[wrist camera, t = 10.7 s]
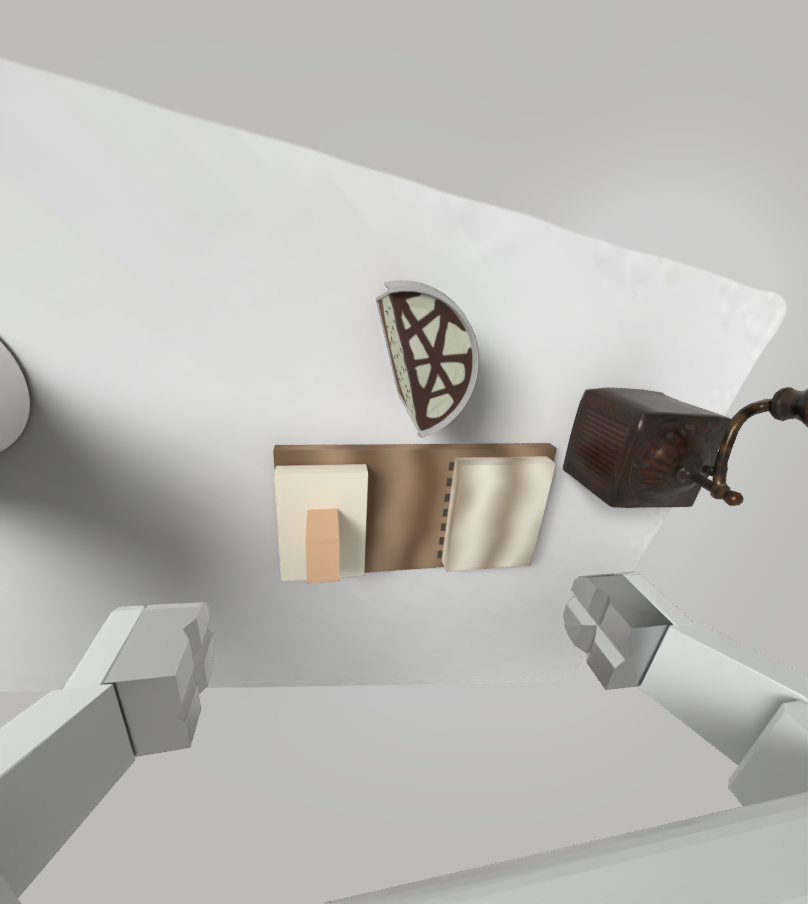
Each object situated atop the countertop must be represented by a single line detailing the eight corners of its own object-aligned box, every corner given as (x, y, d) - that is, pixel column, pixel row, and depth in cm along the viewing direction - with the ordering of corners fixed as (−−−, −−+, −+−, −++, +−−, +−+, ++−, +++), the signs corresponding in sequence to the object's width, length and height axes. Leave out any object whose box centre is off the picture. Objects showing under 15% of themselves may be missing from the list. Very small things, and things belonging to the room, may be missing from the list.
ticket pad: (283, 569, 46) (280, 591, 43) (275, 445, 40) (271, 459, 37) (523, 553, 52) (536, 570, 49) (549, 443, 46) (566, 455, 43)
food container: (456, 391, 41) (494, 423, 32) (400, 406, 41) (423, 443, 32) (436, 265, 36) (474, 261, 27) (371, 281, 35) (388, 282, 26)
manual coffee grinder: (636, 470, 50) (784, 561, 34) (559, 470, 48) (680, 568, 32) (681, 347, 44) (887, 388, 28) (596, 340, 42) (767, 380, 26)
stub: (282, 569, 44) (276, 617, 38) (276, 465, 39) (267, 502, 33) (362, 563, 46) (368, 609, 40) (366, 464, 41) (373, 498, 34)
